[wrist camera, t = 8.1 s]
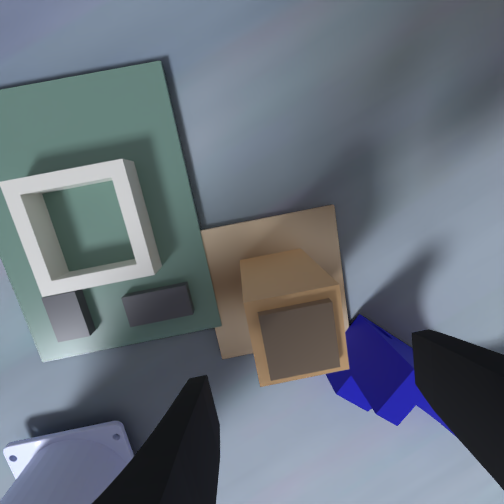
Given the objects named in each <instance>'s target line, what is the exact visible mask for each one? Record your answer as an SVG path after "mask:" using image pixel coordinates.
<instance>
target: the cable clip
mask: <svg viewBox="0 0 504 504" xmlns="http://www.w3.org/2000/svg"><path fill="white" fill-rule="evenodd" d="M345 335H346V344H347V352H348V361H349V369H347V370H342V371H337V372H332V373H327V374H326V376H327V378H328V380H329V381H330V383H331V385H332V387H333V389H334V391H335V393H336V394H337V395H339V396H341V397H342V398H344V399H346V400H348V401H350V402H351V403H353V404H355V405H357V406H359V407H360V408H362V409H364V410H366V411H369V410H370V409H373V410H374V412H375V413H376V414H377V415H379V416H380V417H382V418H384V419H386V420H387V421H389V422H391V423H393V424H395V425H396V426H398V425H399V424H400V423H401V421H402V420H403V419H404V418H405V417H406V416H407V415H408V413H409V412H410V411H411V410H412V409H413V408H414V407H415V405H417V406H418V407H420V408H421V409H422V410H424V411H425V412H426V413H428V414H429V415H430V416H432V417H433V418H434V419H436V420H437V421H438V422H439V423H441V424H442V425H443V426H444V427H445V428H447V429H448V430H449V431H450V432H451V433H452V434H454V433H453V432H452V431H451V430H450V429H449V428H448V426H447V425H446V424H445V423H444V422H443V421H442V420H441V418H440V417H439V416H438V415H437V414H436V413H435V411H434V410H433V409H432V407H431V406H430V405H429V403H428V402H427V400H426V399H425V398H424V396H423V395H422V393H421V392H420V390H419V389H418V387H417V386H416V384H415V375H414V360H413V348H411V347H410V346H408V345H407V344H405V343H403V342H402V341H400V340H399V339H397V338H396V337H394V336H393V335H391V334H390V333H388V332H386V331H385V330H383V329H382V328H380V327H379V326H377V325H376V324H374V323H373V322H371V321H370V320H368V319H366V318H365V317H363V316H362V315H360V314H359V315H358V317H357V318H356V319H355V320H354V322H353V323H352V324H351V325H350V327H349V328H348V329H347V331H346V332H345ZM454 435H455V434H454Z"/></svg>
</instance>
